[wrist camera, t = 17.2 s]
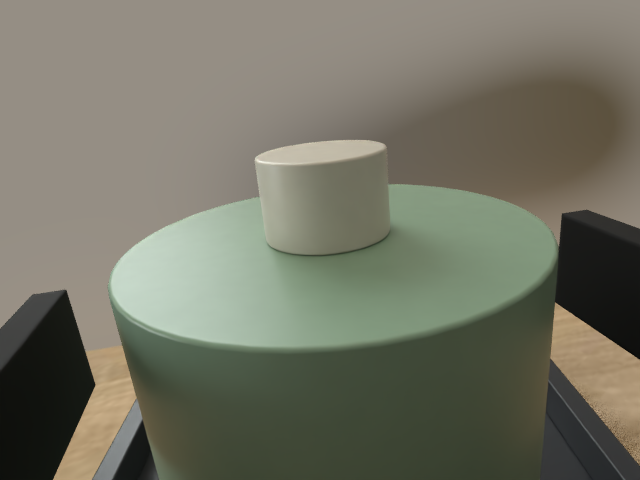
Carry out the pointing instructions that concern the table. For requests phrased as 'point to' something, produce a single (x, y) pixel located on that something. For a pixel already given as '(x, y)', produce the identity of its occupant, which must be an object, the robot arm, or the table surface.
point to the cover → (342, 328)
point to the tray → (557, 455)
